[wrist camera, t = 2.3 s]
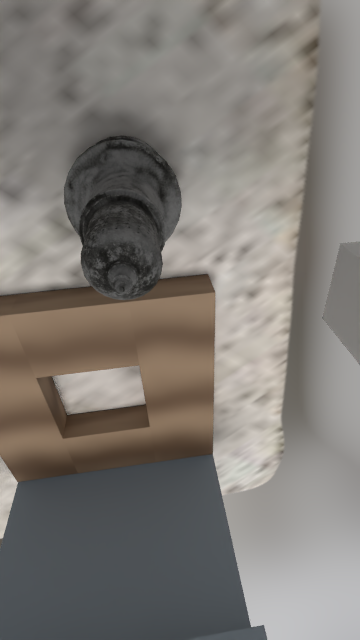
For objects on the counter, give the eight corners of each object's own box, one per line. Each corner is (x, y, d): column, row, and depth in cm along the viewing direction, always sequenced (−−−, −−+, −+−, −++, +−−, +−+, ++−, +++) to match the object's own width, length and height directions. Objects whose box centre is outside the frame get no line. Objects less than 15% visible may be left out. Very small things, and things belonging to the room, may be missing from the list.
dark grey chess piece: (121, 102, 17) (114, 137, 8) (193, 188, 20) (252, 289, 11) (51, 183, 19) (-25, 292, 10) (127, 251, 22) (126, 385, 13)
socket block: (-68, 303, 23) (-87, 325, 21) (207, 274, 24) (215, 292, 22) (24, 458, 34) (17, 482, 32) (207, 432, 35) (212, 454, 33)
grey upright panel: (10, 445, 33) (-78, 724, 19) (212, 417, 34) (271, 658, 20) (25, 469, 35) (-42, 729, 21) (212, 443, 37) (264, 671, 23)
